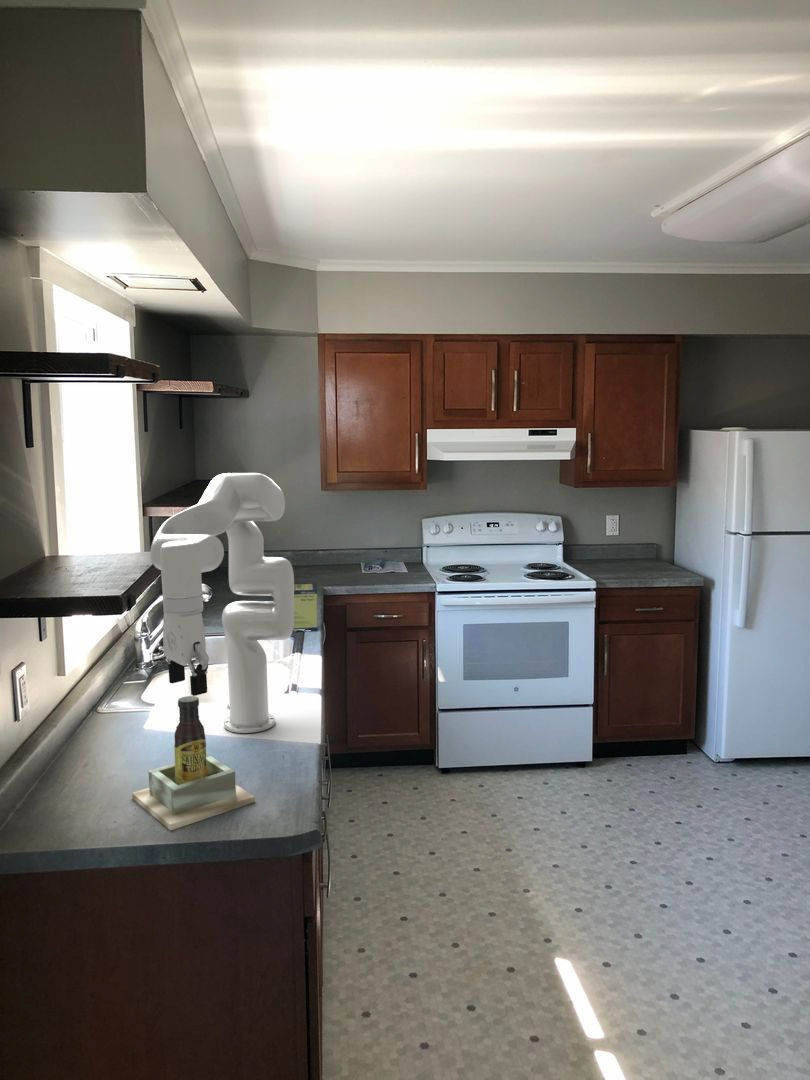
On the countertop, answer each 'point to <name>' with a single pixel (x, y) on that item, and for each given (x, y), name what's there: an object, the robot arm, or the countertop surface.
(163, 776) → the tray
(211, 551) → the robot arm
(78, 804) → the countertop surface
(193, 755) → the sauce bottle
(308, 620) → the protein box
